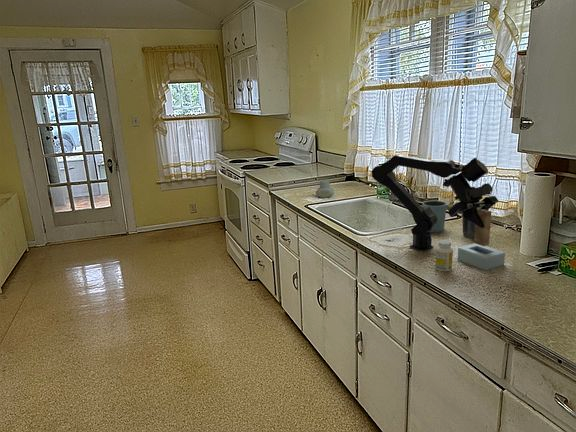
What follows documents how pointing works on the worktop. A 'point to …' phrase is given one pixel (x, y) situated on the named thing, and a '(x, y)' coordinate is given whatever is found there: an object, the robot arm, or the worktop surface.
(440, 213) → the blue-grey round container
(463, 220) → the beverage cup
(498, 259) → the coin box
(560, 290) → the worktop surface
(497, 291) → the worktop surface
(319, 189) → the air freshener
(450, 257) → the supplement bottle
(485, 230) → the wooden block
